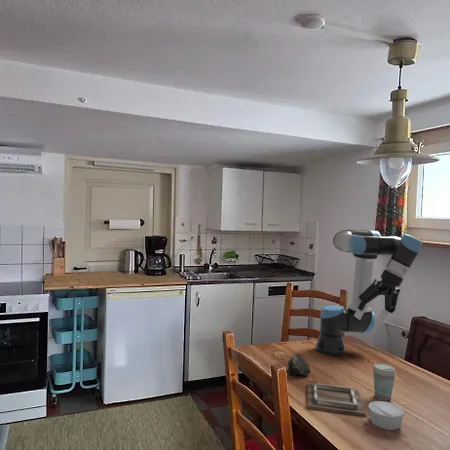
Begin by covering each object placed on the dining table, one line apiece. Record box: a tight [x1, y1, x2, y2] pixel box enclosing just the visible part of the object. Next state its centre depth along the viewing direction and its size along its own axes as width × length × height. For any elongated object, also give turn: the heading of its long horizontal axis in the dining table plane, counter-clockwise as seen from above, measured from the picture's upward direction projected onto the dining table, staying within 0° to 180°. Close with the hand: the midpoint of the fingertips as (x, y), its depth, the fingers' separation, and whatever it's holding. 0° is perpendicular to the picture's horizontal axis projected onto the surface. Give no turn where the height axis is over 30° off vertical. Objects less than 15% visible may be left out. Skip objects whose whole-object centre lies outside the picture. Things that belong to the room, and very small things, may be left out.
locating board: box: [306, 382, 367, 417], centre depth 150 cm, size 20×20×2 cm
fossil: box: [287, 353, 311, 377], centre depth 175 cm, size 11×9×10 cm
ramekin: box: [367, 400, 405, 431], centre depth 134 cm, size 11×11×5 cm
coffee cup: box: [372, 363, 397, 402], centre depth 154 cm, size 8×8×12 cm
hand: (367, 321), depth 153 cm, fingers open, 13 cm apart
